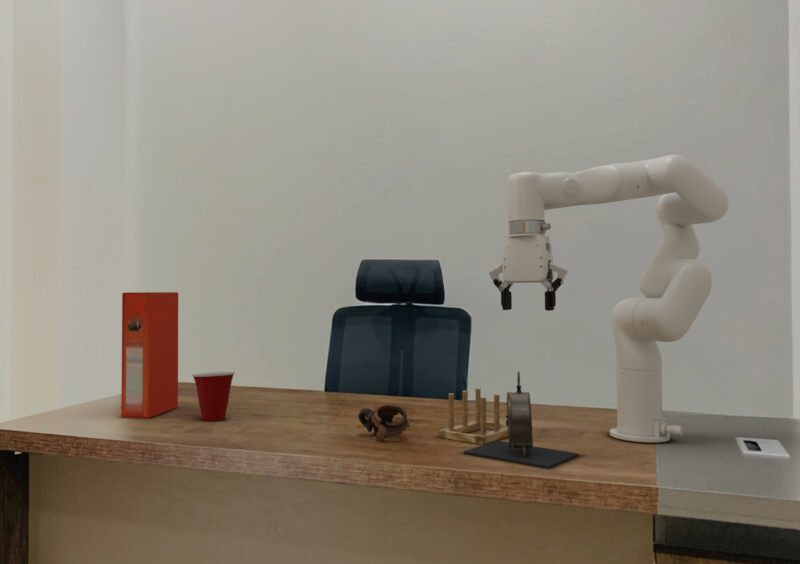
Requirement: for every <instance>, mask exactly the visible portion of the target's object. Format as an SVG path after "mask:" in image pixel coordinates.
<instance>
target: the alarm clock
mask: <svg viewBox="0 0 800 564" xmlns="http://www.w3.org/2000/svg"><path fill="white" fill-rule="evenodd" d="M516 376H517V379H516V380H517V384H516V392H515V391H514V392H512V393H509V394H508V396H507V395H506V403H504V405H505V406H506V415H505V418H506V419H505V424H506V425H507V426H508V435H509V437H508V442H509V443H510V445H509V448H508V450H509V449H510V448H511V446H512V447H514V448H522V449H523V457H526V448H532V447H533V446H534V438H533V422H532V405H531V394H530V392H529V391H524V392H523V391H522V389H521V388H522V385H521V372H520V371H517V375H516ZM507 418H508V420H507ZM508 450H507V451H508Z"/></svg>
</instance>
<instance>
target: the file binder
mask: <svg viewBox="0 0 800 564" xmlns="http://www.w3.org/2000/svg"><path fill="white" fill-rule="evenodd" d="M120 405H121V409H120V411H121V413H120V414H121V418H126V419H127V418H128V419H130V418H131V419H150V418H152V417H155V416H158V415H160V414H163V413H165V412H166V413H167V412H168V411H171V410H173V409H176V408H178V407H179V292H178V291H177V292H176V291H175V292H174V291H169V292H168V291H167V292H166V291H161V292H159V291H157V292H156V291H155V292H153V291H151V292H149V291H147V292H143V291H142V292H141V291H140V292H139V291H138V292H137V291H135V292H131V291H130V292H129V291H128V292H121V403H120Z"/></svg>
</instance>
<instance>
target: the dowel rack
mask: <svg viewBox="0 0 800 564" xmlns="http://www.w3.org/2000/svg"><path fill="white" fill-rule="evenodd" d="M461 392H462V393H461V395H462V397H461V399H462V404H461V405H462V406H461V407H462V408H461V410H462V411H461V412H462V416H461V417H462V418H461V419H462V421H461V422H462V424H458V425H455V394H454V393H448V427H446V428H443V429H438V438H441V439H447V440H454V441H459V442H466V443H471V444H478V445H485V444H489V443H492V442H495V441H500V440H502V439H505V438H509V435H508V426H507V425H506V423H503V422H500V421H501V420H500V418H501V417H500V416H501V415H500V413H501V412H500V411H501V409H500V408H501V407H500V403H501V402H500V401H501V399H500V398H501V397H500V396H501V395H500V394H499V393H497V394H496V393H494V394H493V421H489V420H487V397H486V396H481V395H482V390H481V388H479V387H476V388H475V420H472V421H469V419H468V417H469V415H468V414H469V413H468V409H469V408H468V405H469V398H468V397H469V396H468V395H469V394H468V393H469V392H468V390H462V391H461ZM509 393H513V391H506V397H507V396H508V394H509ZM506 420H508V418H506ZM487 429H488V430H491V431H487ZM478 430H480V434H473V433H471V432H475V431H478Z"/></svg>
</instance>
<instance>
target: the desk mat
mask: <svg viewBox="0 0 800 564" xmlns="http://www.w3.org/2000/svg"><path fill="white" fill-rule="evenodd" d="M509 445H510V443H509V441H502V440H496V441H493V442H490V443H486V444H481V445H480V446H476V447H473V448H470V449H467V450H464V451H463V454H464V455H470V456H475V457H481V458H486V459H492V460H498V461H503V462H509V463H514V464H519V465H520V464H521V465H525V466H531V467H537V468H542V469H547V470H548V469H551V468H554V467H556V466H558V465H561V464H563V463H565V462H567V461H568V462H569V461H570V460H572V459H575V458H577V457H580V454H579V452H571V451H567V450H565V451H564V450H560V449H553V448H546V447H541V446H535V445H533V447H532V448H526V457H523V449H522V448H514V447H512V446H511V448H510V449H509V450H508V448H509ZM507 450H508V451H507Z"/></svg>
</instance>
